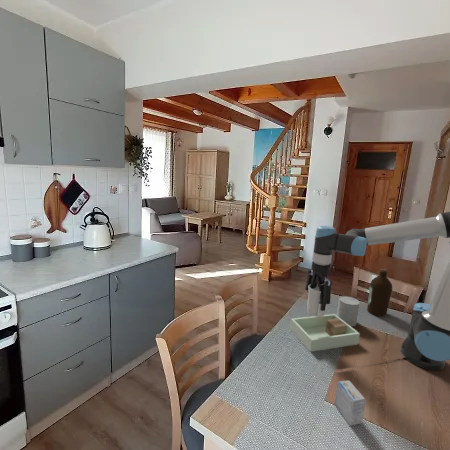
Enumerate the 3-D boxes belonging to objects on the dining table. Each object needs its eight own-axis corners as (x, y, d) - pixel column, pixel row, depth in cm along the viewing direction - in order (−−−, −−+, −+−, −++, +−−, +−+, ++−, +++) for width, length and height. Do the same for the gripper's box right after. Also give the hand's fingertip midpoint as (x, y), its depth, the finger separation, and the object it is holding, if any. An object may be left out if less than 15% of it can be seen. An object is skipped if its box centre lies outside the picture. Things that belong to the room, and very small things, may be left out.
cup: (324, 311, 123) (328, 286, 121) (323, 319, 116) (326, 293, 114) (306, 306, 127) (309, 282, 124) (303, 314, 120) (307, 288, 117)
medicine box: (362, 424, 83) (366, 399, 81) (349, 426, 82) (353, 401, 80) (345, 402, 90) (349, 379, 88) (333, 404, 89) (337, 381, 87)
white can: (358, 329, 134) (362, 306, 132) (337, 326, 136) (340, 303, 133) (353, 319, 143) (356, 297, 141) (334, 316, 145) (337, 294, 143)
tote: (357, 345, 121) (359, 333, 120) (310, 353, 114) (311, 340, 113) (333, 324, 137) (334, 313, 136) (289, 330, 130) (291, 318, 129)
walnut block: (344, 337, 125) (346, 325, 124) (333, 339, 123) (335, 327, 122) (336, 330, 131) (337, 318, 130) (325, 331, 129) (326, 320, 128)
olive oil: (387, 311, 154) (395, 268, 149) (387, 319, 145) (395, 274, 140) (366, 305, 159) (373, 264, 154) (365, 313, 150) (372, 269, 145)
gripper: (345, 270, 108) (337, 323, 113) (315, 254, 127) (309, 300, 132) (328, 271, 106) (321, 325, 111) (300, 255, 125) (295, 301, 130)
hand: (314, 311), depth 121 cm, fingers closed on cup, 7 cm apart
